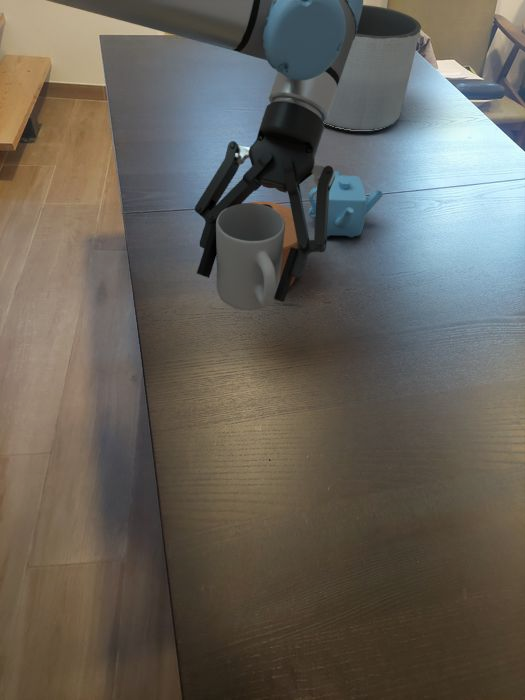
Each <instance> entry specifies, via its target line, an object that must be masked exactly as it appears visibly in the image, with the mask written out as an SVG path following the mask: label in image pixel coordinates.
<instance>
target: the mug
mask: <svg viewBox="0 0 525 700" xmlns="http://www.w3.org/2000/svg"><path fill="white" fill-rule="evenodd" d="M284 233H285V222H284V219H283V217H282V216H281V215H280V214H279V213H278V212H277V211H276V210H274V209H272V208H270V207H268V206H265V205H261V204H256V203H250V202H242V203H241V204H236V205H233V206H230V207H228V208H226V209H224V210H223V211H222V212H221V213H220V214H219V215H218V217H217V221H216V253H217V255H216V292H217V293H218V296H219V298H220V299H221V301H222V302H223V303H224V304H226V305H227V306H229V307H231V308H234V309H236V310H239V311H240V310H241V311H257V310H262V309H264V308H268V307H269V306H272V305H273V303H274V302H275V301H276V299H274V297H275V294H276V291H277V288H278V285H279V282H280V272H281V262H282V252H283V243H284Z"/></svg>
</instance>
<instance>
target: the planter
mask: <svg viewBox="0 0 525 700" xmlns="http://www.w3.org/2000/svg"><path fill="white" fill-rule="evenodd" d="M421 30H422V25H421V23H420V22H419V21H418V20H417V19H416V18H414V17H413V16H411V15H408V14H406V13H404V12H401V11H399V10H395V9H392V8H391V9H390V8H386V7H382V6H377V5H367V4H363V7H362V12H361V17H360V20H359V24H358V29H357V34H356V36H355V39H354V40H353V43H352V46H351V49H350V51H349V54H348V57H347V60H346V63H345V66H344V69H343V72H342V75H341V78H340V81H339V83H338V86H337V91H336V94H335V97H334V100H333V103H332V106H331V109H330V112H329V115H328V118H327V120H326V121H324V123H326V124H329V125H332V126H334V127H332V126H329V125H326V124H324V123H323V124H324V126H325V127H326V126H327V127H329V128H332V129H335V130H338V131H343V132H349V133H372V132H377V131H381V130H383V129H380V128H384V127H387V126H389V125H391V124H392V125H394V124H395V123H396V122H397V121H398V120H399V118H400V115H401V113H402V109H403V105H404V100H405V97H406V93H407V88H408V84H409V81H410V75H411V71H412V67H413V63H414V60H415V55H416V51H417V46H418V44H419V38H420V35H421V32H422V31H421ZM397 119H398V120H397ZM396 120H397V121H396ZM395 121H396V122H395ZM394 122H395V123H394ZM393 123H394V124H393ZM392 125H391V126H392ZM335 127H340V128H344V129H351V130H375V129H380V130H375V131H350V130H344V129H339V128H335ZM389 127H390V126H389ZM387 128H388V127H387ZM384 129H385V128H384Z"/></svg>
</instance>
